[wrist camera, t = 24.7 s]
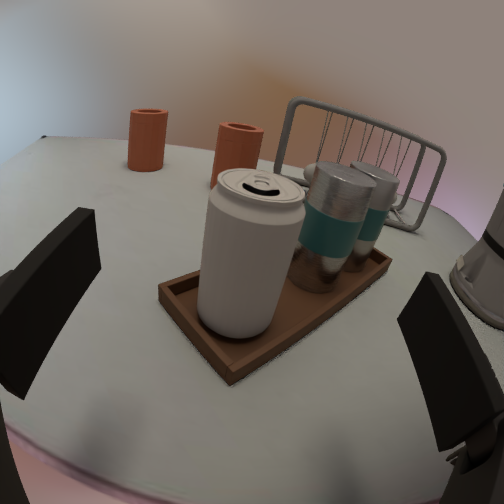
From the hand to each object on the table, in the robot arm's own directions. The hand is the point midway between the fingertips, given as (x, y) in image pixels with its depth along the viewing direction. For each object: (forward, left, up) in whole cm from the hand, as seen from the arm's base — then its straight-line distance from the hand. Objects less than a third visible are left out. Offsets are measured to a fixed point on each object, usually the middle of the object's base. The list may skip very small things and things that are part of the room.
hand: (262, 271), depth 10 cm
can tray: (+7, -15, -12) cm, 21 cm away
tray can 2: (+7, -24, -12) cm, 28 cm away
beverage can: (+7, -6, -12) cm, 15 cm away
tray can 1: (+7, -17, -12) cm, 22 cm away
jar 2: (+30, -24, -12) cm, 40 cm away
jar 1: (+46, -15, -12) cm, 50 cm away
